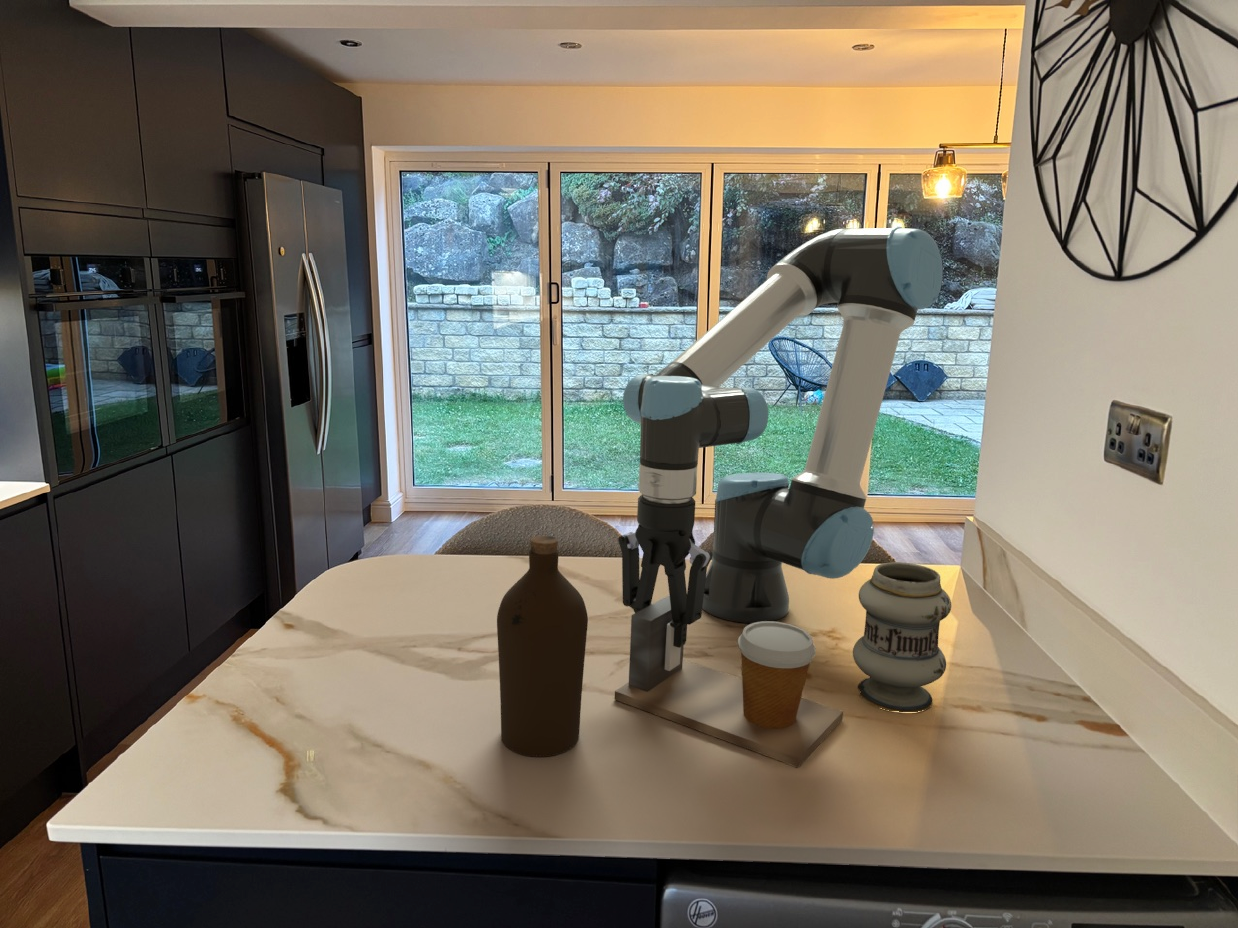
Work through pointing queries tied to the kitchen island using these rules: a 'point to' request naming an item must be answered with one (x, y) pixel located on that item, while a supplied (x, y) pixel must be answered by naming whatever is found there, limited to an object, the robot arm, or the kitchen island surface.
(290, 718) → the kitchen island surface
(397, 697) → the kitchen island surface
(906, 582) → the apothecary jar
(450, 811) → the kitchen island surface
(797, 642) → the disposable coffee cup
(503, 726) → the olive oil
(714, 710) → the walnut board
